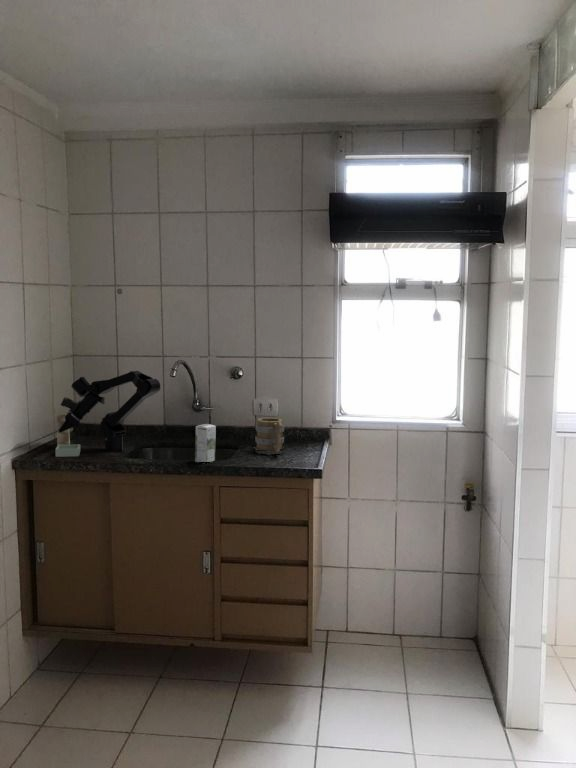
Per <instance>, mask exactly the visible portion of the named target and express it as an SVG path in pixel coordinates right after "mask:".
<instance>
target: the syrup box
mask: <svg viewBox="0 0 576 768" xmlns="http://www.w3.org/2000/svg"><path fill="white" fill-rule="evenodd" d="M216 428H217V425H214V424H210V423H204V424H200V425H196V426H195V438H194V439H195V443H194V444H195V445H194V449H195V450H194V462H195V463H199V462H210V463H214V462H215V461H216V438H217V436H216V435H217V433H216V432H217V430H216ZM213 461H214V462H213Z"/></svg>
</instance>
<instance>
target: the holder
mask: <svg viewBox="0 0 576 768" xmlns="http://www.w3.org/2000/svg"><path fill="white" fill-rule="evenodd" d="M80 453H81V444H79V443H78V444H70V445H58V446H57V445H56V447H55V457H57V458H59V457H61V458H62V457H80Z"/></svg>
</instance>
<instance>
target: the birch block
mask: <svg viewBox="0 0 576 768" xmlns="http://www.w3.org/2000/svg"><path fill="white" fill-rule="evenodd" d="M66 415H67V414H58V415H57V416H56V429H57V430H56V433H57V434H56V437H57V439H56V440H57V441H56V443H57V444H56V447H57V446H58V445H71V440H70V439H71V435H70V429H71V428H70V429H68V430H65V431H63V432H59V429H60V428H61V426H62V425H63V424H64V422H65V416H66Z"/></svg>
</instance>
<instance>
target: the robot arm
mask: <svg viewBox="0 0 576 768" xmlns="http://www.w3.org/2000/svg"><path fill="white" fill-rule="evenodd" d="M130 383H132V384H133V385H134V387H136V390H135V393H134V394H133V395H131V397H130V398H129V399H128V400H127V401H126V402H124V404H123V405H121V407H120V408H119V409H118V410H117V411H113V412H108V413H106V415H105V416H104V417H103V418H101V422H100V428H101V432H102V436H103V437H104V438H105V447H104V448H105V451H106V453H111V452H112V453H113V452H118V453H119V452H123V451H124V446H123V445H124V444H123V441H124V440H123V439H124V438H123V437H124V436H125V435H126V434H127V431H128V430H127V428H126V427H125V426H124V423H125V420H126V418H128V417H129V415H131V414H132V413H133V412H134V411H135V409H137V408H138V407H139V406H140V405H141V404H142V403H143V402H144V401H145V400H146V399H148V398H150V397H152V396H154V395H156V394H157V393H158V392H160V390H161V383H160V381H159V380H158V379H157V378H153V377H151V376H149V375H147V374H145V373H143V372H141V371H140V370H132V371H129V372H127V373H123V374H121V375H119V376H115V377H112V378H110V379H103V380H94V381H92V382H91V384H90V383H89V382H88V380H86V378H85V377H84V376H80V377H79V378H78V379H77V380H75V381H73V382H72V384H71V388H72V390H73V391H74V392H75V393H76V394H77V395H78V396H79V397H81V398H82V399H81V400H79V401H75V400H73V399H72V398H69V397H66V396H64V397H63V398H62V401H61V403H60V406H61V407H65V408H68V409H69V410H68V411H67V412H66V414H65V415H66V416H65V422H64V424H63V425H62V426H61V428H60V429H59V432H63V431H65V430H68V429H72V428H75V427H76V428H77V427H78V426H79V425H80V424H81V421H82V420H83V419H84V417H86V416H87V414H90V412H91V411H92V410H93V409H94V408H95V407H96V406H97V405H99V403H100V404H102V405H105V399H106V398H105V397H104V396H101V395H105V394H108V393H110V392H112V391H113V390H114V389H115V388H118V387H121V386H123V385H126V384H130Z"/></svg>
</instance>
